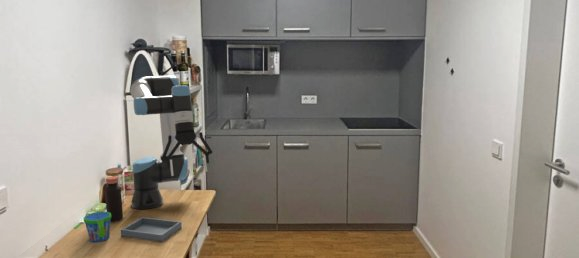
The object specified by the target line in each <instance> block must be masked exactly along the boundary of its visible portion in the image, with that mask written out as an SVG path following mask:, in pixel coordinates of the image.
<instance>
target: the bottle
mask: <svg viewBox="0 0 579 258" xmlns="http://www.w3.org/2000/svg"><path fill="white" fill-rule="evenodd" d="M105 182H106V185H107V186H106V187H105V188H104V194H105V207H106V212H109V213H111V220H110V221H111V222H110V223H116V222H120V221H122V220H123V219H124V212H123V211H124V210H123V201H122V200H123V199H122V188H121V186H120V185H119V184H118V183H119V178H118V176H116V175H114V176H107V177H106V178H105Z"/></svg>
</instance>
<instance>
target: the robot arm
mask: <svg viewBox="0 0 579 258" xmlns="http://www.w3.org/2000/svg"><path fill="white" fill-rule="evenodd" d="M129 94H130V95H131V97H132V98H133V111H134V114H135V115H136V116H147V115H150V116H151V115H159V121H160V122H159V123H160V134H161V144H162V153H161V155H160V157H159V159H157V157H155V156H148V157H147V156H146V157H143V158H139V159H137V160H136V161H134V162H133V164H132V176H133V177H132V179H133V193H132V198H131V207H132V208H134V209H137V210H150V209H154V208H157V207H160V206H161V205H162V204H163V203H164V199H163V197H162V194H161V191H160V189H159V184H161V183H171V182H179V181H183V180H185V179H186V178H187V176H188V168H189V164H188V162H189V161H188V157H187V156H184V155H185V154H184V152H182V151H181V146H186V145H187V146H189V145H192V144H193V145H194V146H195V147H196V148H197V149H198V150H199V151H200V152H202V154H203V163H204V172H207V173H208V166H207V164H210V160H209V159H210V158H209V156H210V155H211V154H213V150H212V149H211V147H210V146H209V144H208V143H207V141H206V140H205V137H204V136H203V135H204V134H203V132H198V133H196V132H195V125H194V122H193V121H194V114H193V109H192V97H191V94H192V93H191V89H190V87H189V85H185V84H180V81H179V78H178V77H177V76H176V75H167V74H166V75H155V76H154V75H153V76H152V75H151V76H150V75H149V76H142V77H139V78H138V79H136V80H135V81H133V82H132V84H131V85H130V88H129ZM196 137H197V139H200V141H201V143H202V144H203V146H204V147H205V149H206V150H207V151H206V150H205V149H204V148H203V147H202V146H201V144H199V143H197V141H196V140H195V139H196Z"/></svg>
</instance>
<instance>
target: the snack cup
mask: <svg viewBox="0 0 579 258" xmlns="http://www.w3.org/2000/svg"><path fill="white" fill-rule="evenodd" d="M110 220H111V213H109V212H107V211H95V212H92V213H88V214H86V215H84V217H83V222H84V224H85V228H86V231H87V235H88V238H89V240H90V241H91V242H92V243H99V242H103V241H106V240H108V239H109V238H110V234H111V233H110V232H111V223H112V222H111V221H110Z"/></svg>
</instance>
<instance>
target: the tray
mask: <svg viewBox="0 0 579 258" xmlns="http://www.w3.org/2000/svg"><path fill="white" fill-rule="evenodd" d="M182 225H183V224H182V221H180V220H179V221H178V220H171V219H163V218H153V217H146V216H145V217H144V216H141V217H140V218H138V219H136V220H134V221H133V222H131V223H130V224H128V225H126V226H125V227H122V228H121V229H120V237H121V238H127V239H128V238H129V239H136V240H144V241H153V242H157V243H164V242H165V241H167V240H168V239H169V238H171V237H172V236H174V235H175V234H176V233H178V232H179V231H181V229H182V228H183V226H182Z"/></svg>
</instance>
